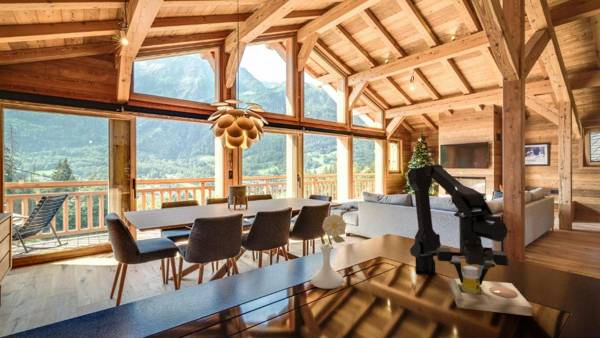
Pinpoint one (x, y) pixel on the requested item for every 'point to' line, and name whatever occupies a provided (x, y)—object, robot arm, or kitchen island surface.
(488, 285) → the pocket board
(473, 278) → the supplement bottle
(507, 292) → the coaster
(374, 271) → the kitchen island surface
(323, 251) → the flower in vase
